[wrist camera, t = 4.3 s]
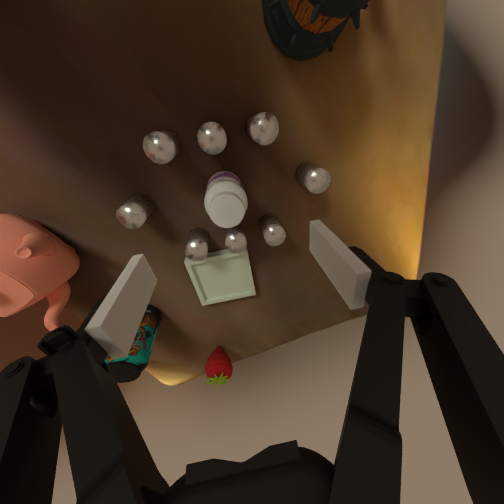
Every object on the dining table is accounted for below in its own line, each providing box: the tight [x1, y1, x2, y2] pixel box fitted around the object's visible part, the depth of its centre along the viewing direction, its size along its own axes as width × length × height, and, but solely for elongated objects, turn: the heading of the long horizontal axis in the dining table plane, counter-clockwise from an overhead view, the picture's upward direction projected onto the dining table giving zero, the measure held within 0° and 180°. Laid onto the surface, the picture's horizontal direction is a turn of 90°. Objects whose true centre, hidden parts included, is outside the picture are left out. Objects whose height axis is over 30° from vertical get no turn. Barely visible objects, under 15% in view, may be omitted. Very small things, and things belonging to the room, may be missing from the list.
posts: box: [116, 112, 331, 261], centre depth 29 cm, size 28×17×5 cm, turn 99°
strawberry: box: [205, 346, 233, 389], centre depth 48 cm, size 6×8×10 cm
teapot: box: [0, 214, 80, 331], centre depth 27 cm, size 14×14×11 cm
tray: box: [184, 247, 256, 306], centre depth 39 cm, size 11×11×2 cm
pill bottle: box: [204, 171, 248, 228], centre depth 27 cm, size 5×5×10 cm
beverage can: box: [105, 305, 161, 383], centre depth 37 cm, size 7×7×12 cm
